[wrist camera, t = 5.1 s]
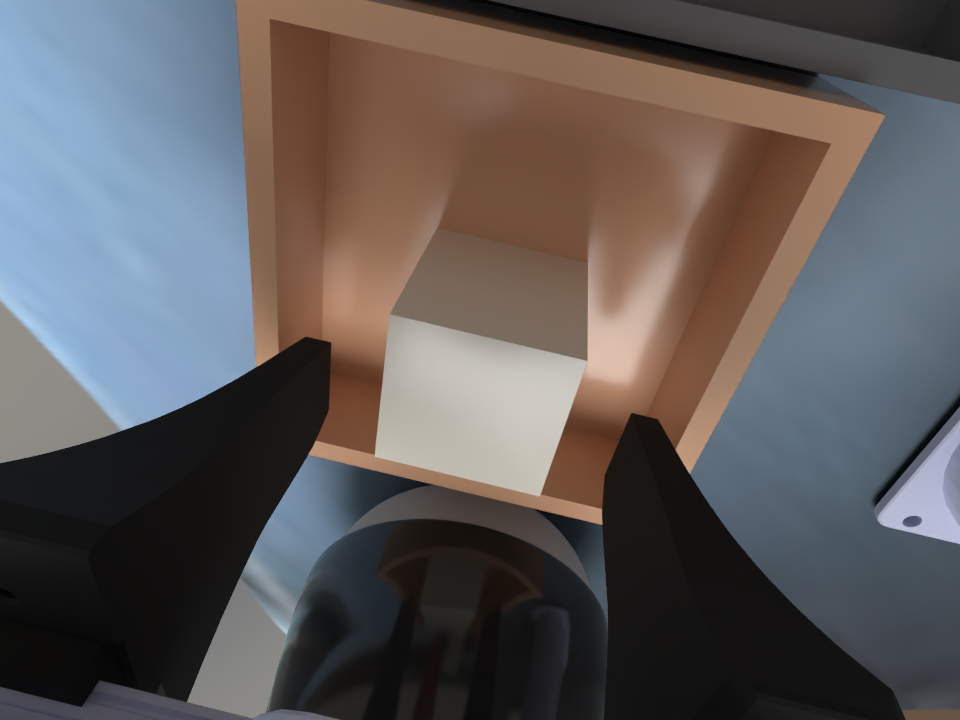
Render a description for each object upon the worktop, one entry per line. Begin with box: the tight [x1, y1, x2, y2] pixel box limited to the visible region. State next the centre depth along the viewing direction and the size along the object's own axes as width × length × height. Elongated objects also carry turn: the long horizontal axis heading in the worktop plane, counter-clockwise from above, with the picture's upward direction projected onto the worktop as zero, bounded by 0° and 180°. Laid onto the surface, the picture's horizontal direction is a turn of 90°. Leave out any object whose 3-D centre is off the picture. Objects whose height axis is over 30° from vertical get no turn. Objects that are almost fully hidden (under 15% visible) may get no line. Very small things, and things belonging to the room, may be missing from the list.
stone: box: [375, 228, 588, 496], centre depth 15 cm, size 4×4×4 cm
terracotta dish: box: [236, 0, 886, 525], centre depth 15 cm, size 11×11×4 cm
